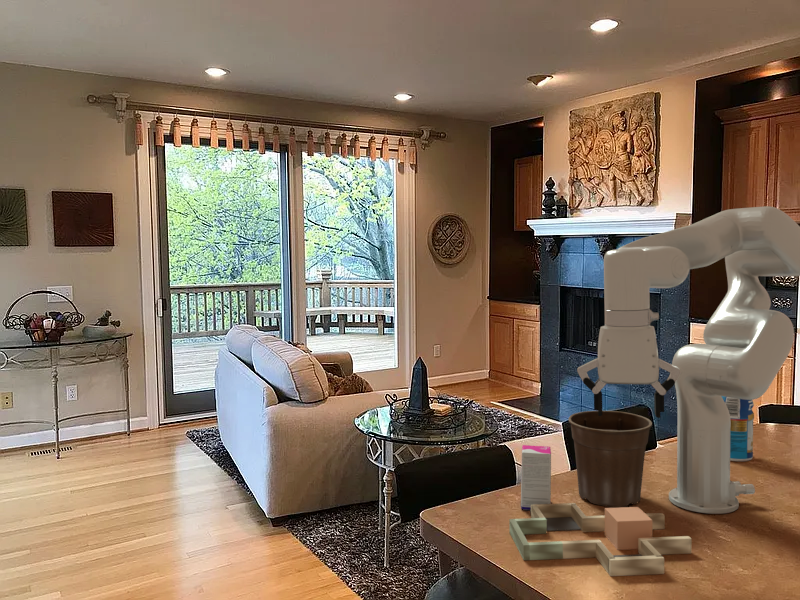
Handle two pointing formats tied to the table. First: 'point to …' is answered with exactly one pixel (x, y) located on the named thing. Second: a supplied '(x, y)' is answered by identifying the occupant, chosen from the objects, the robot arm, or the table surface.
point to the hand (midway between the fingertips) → (628, 415)
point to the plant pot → (610, 456)
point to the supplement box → (535, 476)
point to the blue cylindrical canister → (740, 428)
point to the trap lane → (575, 519)
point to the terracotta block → (626, 526)
